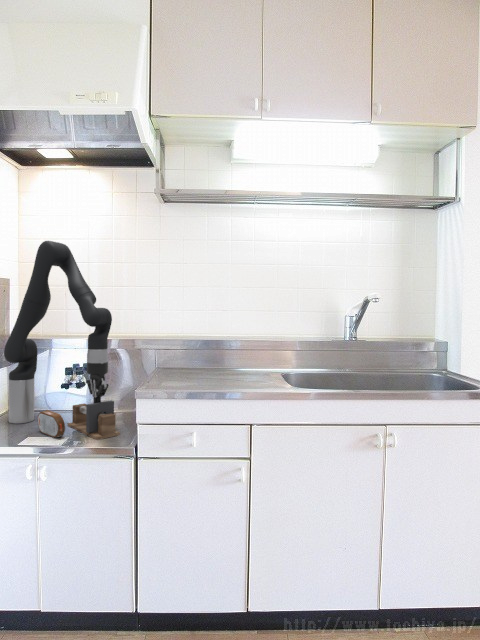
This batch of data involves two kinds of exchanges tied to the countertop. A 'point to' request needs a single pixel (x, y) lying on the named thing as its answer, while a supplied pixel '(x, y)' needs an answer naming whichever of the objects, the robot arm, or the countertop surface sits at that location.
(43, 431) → the tin
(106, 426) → the rod stand
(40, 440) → the countertop surface
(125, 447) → the countertop surface
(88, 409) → the dark grey square plate
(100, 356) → the robot arm
